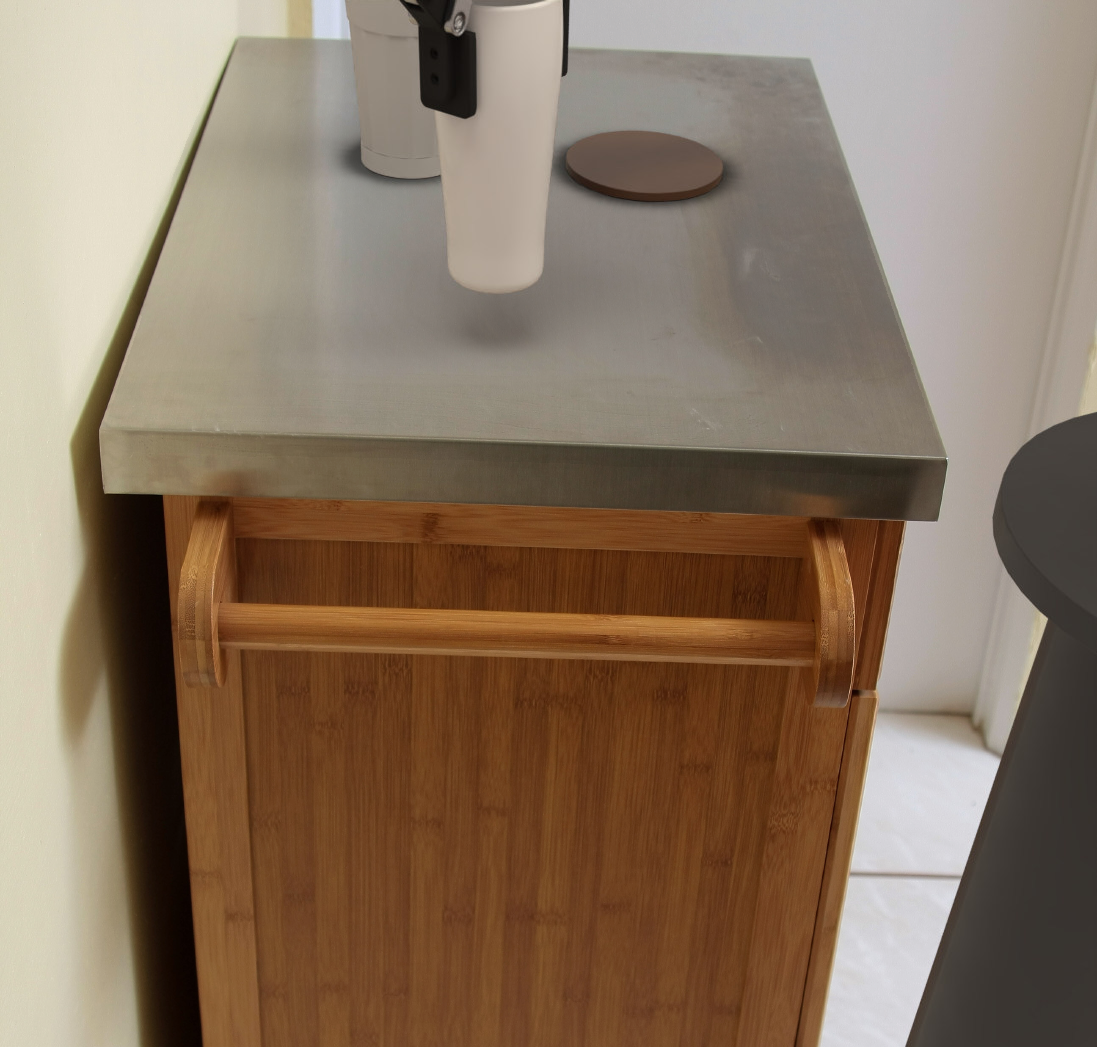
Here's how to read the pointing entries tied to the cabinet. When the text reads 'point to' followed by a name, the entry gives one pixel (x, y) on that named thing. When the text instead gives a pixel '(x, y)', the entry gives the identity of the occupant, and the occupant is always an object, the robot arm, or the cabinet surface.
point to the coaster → (644, 165)
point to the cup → (391, 91)
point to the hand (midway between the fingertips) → (495, 88)
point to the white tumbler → (503, 147)
